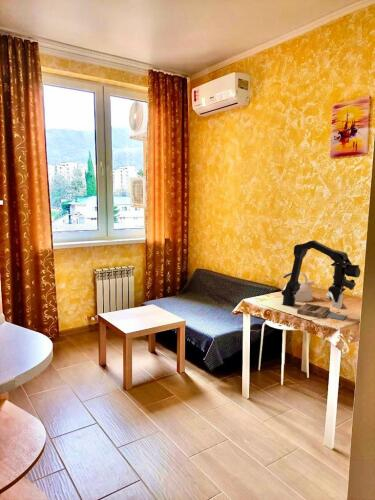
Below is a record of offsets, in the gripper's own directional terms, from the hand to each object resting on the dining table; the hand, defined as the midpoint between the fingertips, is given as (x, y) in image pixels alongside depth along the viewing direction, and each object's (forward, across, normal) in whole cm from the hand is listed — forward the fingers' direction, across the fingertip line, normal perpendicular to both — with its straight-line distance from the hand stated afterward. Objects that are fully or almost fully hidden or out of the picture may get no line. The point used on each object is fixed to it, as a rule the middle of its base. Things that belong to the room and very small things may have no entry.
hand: (337, 301), depth 202 cm
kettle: (+10, +27, +32) cm, 43 cm away
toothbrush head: (+10, +30, +9) cm, 33 cm away
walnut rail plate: (+9, 0, +13) cm, 16 cm away
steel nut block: (+3, 0, 0) cm, 3 cm away
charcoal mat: (+9, 0, 0) cm, 9 cm away
